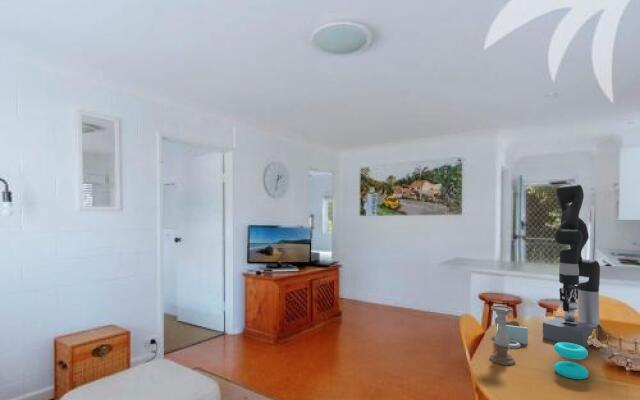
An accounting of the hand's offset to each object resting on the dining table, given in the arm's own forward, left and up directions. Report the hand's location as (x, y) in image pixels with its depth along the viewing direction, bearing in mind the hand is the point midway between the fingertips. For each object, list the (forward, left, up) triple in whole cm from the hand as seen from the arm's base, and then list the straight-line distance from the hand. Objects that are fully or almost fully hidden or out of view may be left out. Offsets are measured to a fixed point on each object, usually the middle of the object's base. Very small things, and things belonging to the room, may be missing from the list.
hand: (569, 309), depth 167 cm
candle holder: (+50, -4, -14) cm, 52 cm away
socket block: (0, 0, -13) cm, 13 cm away
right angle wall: (+30, -10, -14) cm, 34 cm away
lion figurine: (+17, -19, -14) cm, 29 cm away
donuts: (+41, +16, -14) cm, 46 cm away
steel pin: (0, 0, -5) cm, 5 cm away
